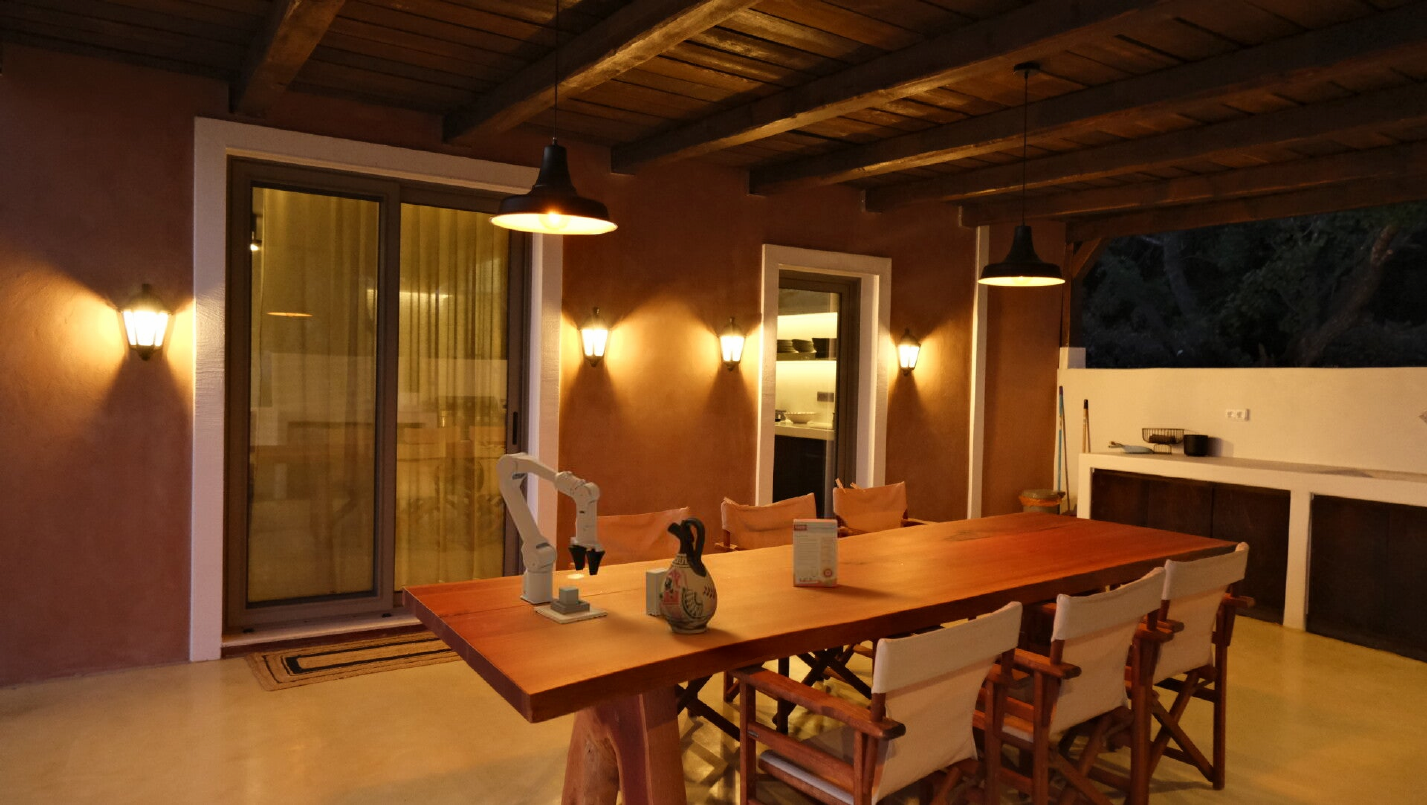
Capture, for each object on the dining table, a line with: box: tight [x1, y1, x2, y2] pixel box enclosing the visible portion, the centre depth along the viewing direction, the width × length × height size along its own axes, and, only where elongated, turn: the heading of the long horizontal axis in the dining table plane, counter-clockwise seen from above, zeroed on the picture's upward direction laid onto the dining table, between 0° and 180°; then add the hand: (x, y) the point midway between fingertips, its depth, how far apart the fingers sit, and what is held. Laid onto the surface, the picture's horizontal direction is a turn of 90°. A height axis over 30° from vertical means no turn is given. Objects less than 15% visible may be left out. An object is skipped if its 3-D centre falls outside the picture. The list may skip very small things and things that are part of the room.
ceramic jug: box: [659, 517, 718, 636], centre depth 231 cm, size 17×15×30 cm
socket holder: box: [533, 598, 608, 625], centre depth 247 cm, size 16×14×3 cm
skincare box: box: [645, 567, 669, 617], centre depth 248 cm, size 6×4×12 cm
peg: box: [558, 585, 580, 606], centre depth 247 cm, size 4×4×6 cm
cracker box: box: [792, 518, 838, 588], centre depth 283 cm, size 14×6×21 cm, turn 84°
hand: (586, 572), depth 256 cm, fingers open, 7 cm apart
